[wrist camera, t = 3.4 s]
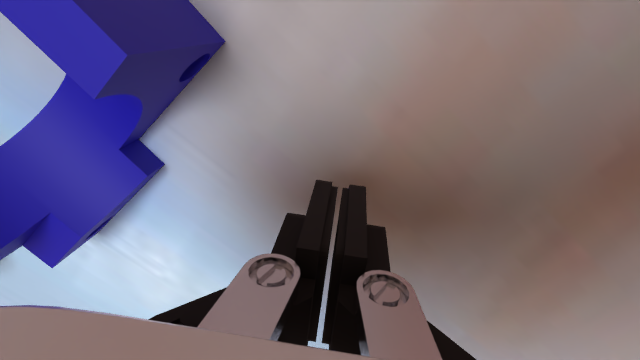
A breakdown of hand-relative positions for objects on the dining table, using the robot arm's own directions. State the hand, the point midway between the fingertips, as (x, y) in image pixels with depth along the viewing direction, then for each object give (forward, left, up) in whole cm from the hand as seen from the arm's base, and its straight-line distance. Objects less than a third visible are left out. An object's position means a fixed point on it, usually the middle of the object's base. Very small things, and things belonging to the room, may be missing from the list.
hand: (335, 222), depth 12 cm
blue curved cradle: (+10, -1, -4) cm, 10 cm away
